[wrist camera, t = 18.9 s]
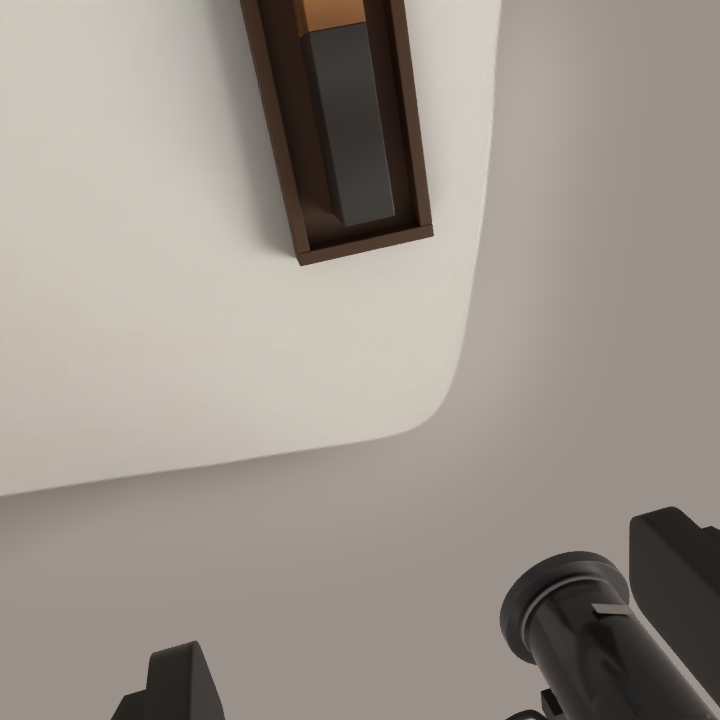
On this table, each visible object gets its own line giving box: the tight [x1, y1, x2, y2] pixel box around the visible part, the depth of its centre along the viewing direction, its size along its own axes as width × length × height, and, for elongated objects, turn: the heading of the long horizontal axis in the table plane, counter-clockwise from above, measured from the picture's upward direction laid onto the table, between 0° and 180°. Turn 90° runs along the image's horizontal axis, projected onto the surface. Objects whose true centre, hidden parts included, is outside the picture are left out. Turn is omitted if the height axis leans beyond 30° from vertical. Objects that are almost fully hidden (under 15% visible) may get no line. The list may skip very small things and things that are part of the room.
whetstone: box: [292, 0, 395, 227], centre depth 34 cm, size 20×3×4 cm, turn 10°
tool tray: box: [240, 0, 434, 266], centre depth 36 cm, size 25×9×2 cm, turn 10°
